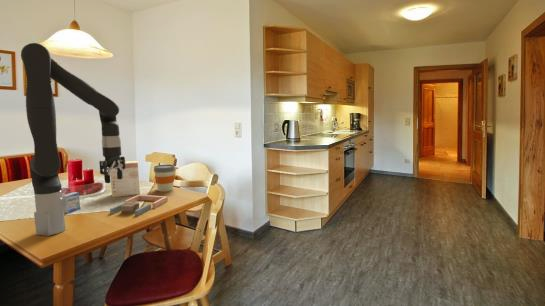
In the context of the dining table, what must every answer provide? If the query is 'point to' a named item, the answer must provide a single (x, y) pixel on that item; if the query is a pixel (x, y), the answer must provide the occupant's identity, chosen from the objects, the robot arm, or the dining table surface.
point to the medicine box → (71, 202)
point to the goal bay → (149, 199)
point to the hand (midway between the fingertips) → (114, 180)
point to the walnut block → (129, 207)
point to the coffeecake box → (126, 180)
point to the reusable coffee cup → (164, 177)
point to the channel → (137, 212)
